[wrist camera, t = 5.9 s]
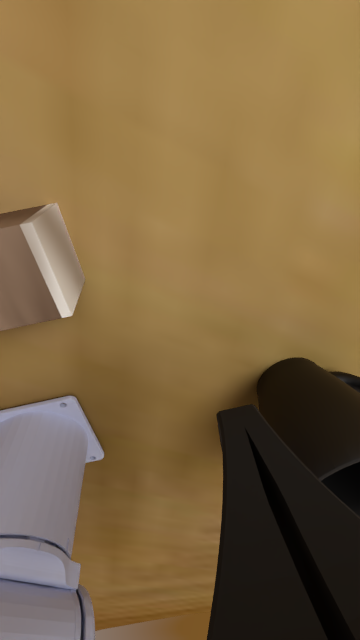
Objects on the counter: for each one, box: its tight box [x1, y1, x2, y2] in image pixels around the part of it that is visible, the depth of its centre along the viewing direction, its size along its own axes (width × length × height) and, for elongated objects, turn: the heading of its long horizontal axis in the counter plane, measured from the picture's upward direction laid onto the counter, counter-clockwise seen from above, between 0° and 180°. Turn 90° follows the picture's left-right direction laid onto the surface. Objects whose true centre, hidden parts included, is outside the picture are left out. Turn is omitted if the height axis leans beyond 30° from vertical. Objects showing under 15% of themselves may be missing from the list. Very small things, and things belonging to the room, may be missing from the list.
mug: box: [257, 358, 360, 517], centre depth 21 cm, size 8×12×10 cm
